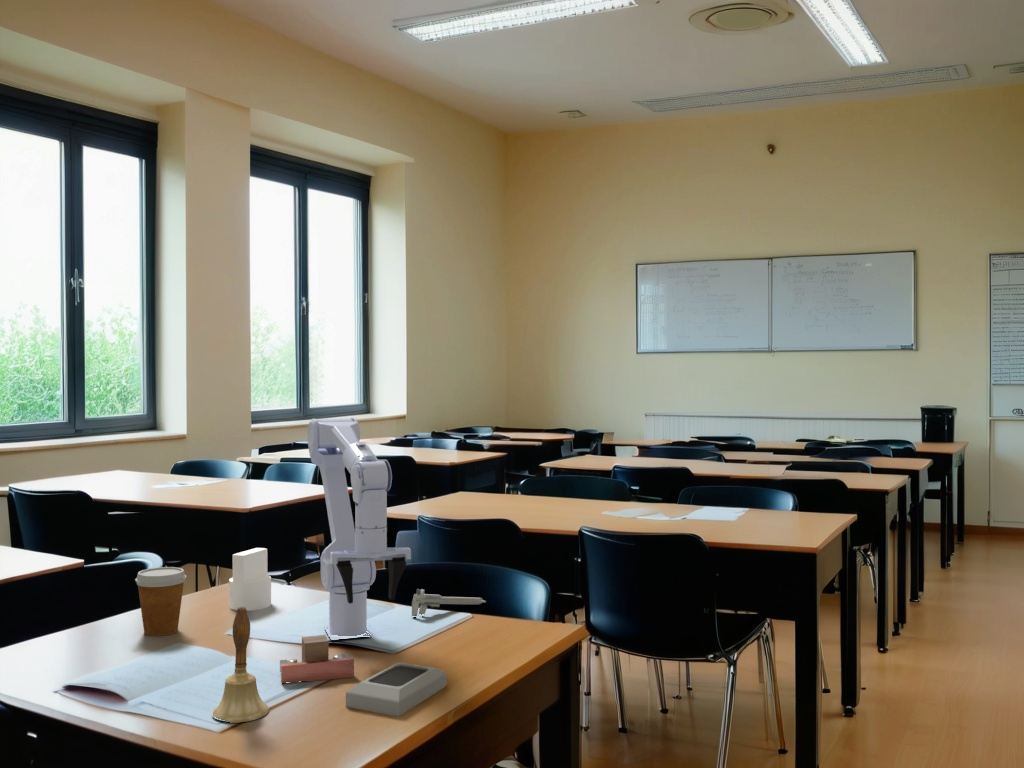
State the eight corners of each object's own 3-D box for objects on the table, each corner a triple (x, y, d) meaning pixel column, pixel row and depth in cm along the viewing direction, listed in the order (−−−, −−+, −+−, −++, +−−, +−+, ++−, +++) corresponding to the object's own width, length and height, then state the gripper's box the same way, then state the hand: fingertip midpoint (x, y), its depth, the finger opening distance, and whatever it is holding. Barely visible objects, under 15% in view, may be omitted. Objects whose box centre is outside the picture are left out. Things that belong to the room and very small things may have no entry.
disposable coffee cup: (124, 635, 181) (124, 574, 181) (159, 623, 190) (159, 565, 190) (162, 640, 178) (162, 578, 178) (196, 628, 187) (196, 568, 186)
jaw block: (301, 671, 160) (301, 636, 160) (325, 669, 161) (325, 634, 161) (304, 678, 156) (304, 643, 156) (328, 676, 157) (328, 641, 157)
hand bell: (219, 704, 144) (219, 602, 144) (273, 703, 144) (273, 601, 144) (205, 724, 135) (205, 616, 135) (263, 722, 136) (263, 615, 136)
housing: (278, 671, 159) (278, 654, 159) (347, 665, 163) (347, 648, 163) (281, 684, 153) (281, 666, 153) (354, 676, 157) (354, 659, 157)
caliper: (414, 620, 194) (414, 590, 194) (411, 619, 195) (411, 589, 195) (486, 603, 208) (486, 575, 208) (482, 602, 209) (482, 575, 209)
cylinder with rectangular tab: (254, 612, 199) (254, 556, 199) (220, 608, 202) (220, 553, 202) (279, 602, 208) (279, 549, 207) (246, 599, 211) (246, 546, 211)
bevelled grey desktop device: (345, 685, 143) (397, 658, 156) (345, 709, 143) (397, 680, 157) (398, 694, 139) (446, 666, 152) (398, 719, 139) (446, 688, 153)
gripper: (334, 532, 163) (334, 608, 163) (414, 527, 168) (414, 602, 168) (328, 525, 170) (328, 599, 170) (406, 522, 174) (406, 593, 175)
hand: (371, 600), depth 169 cm, fingers open, 7 cm apart
